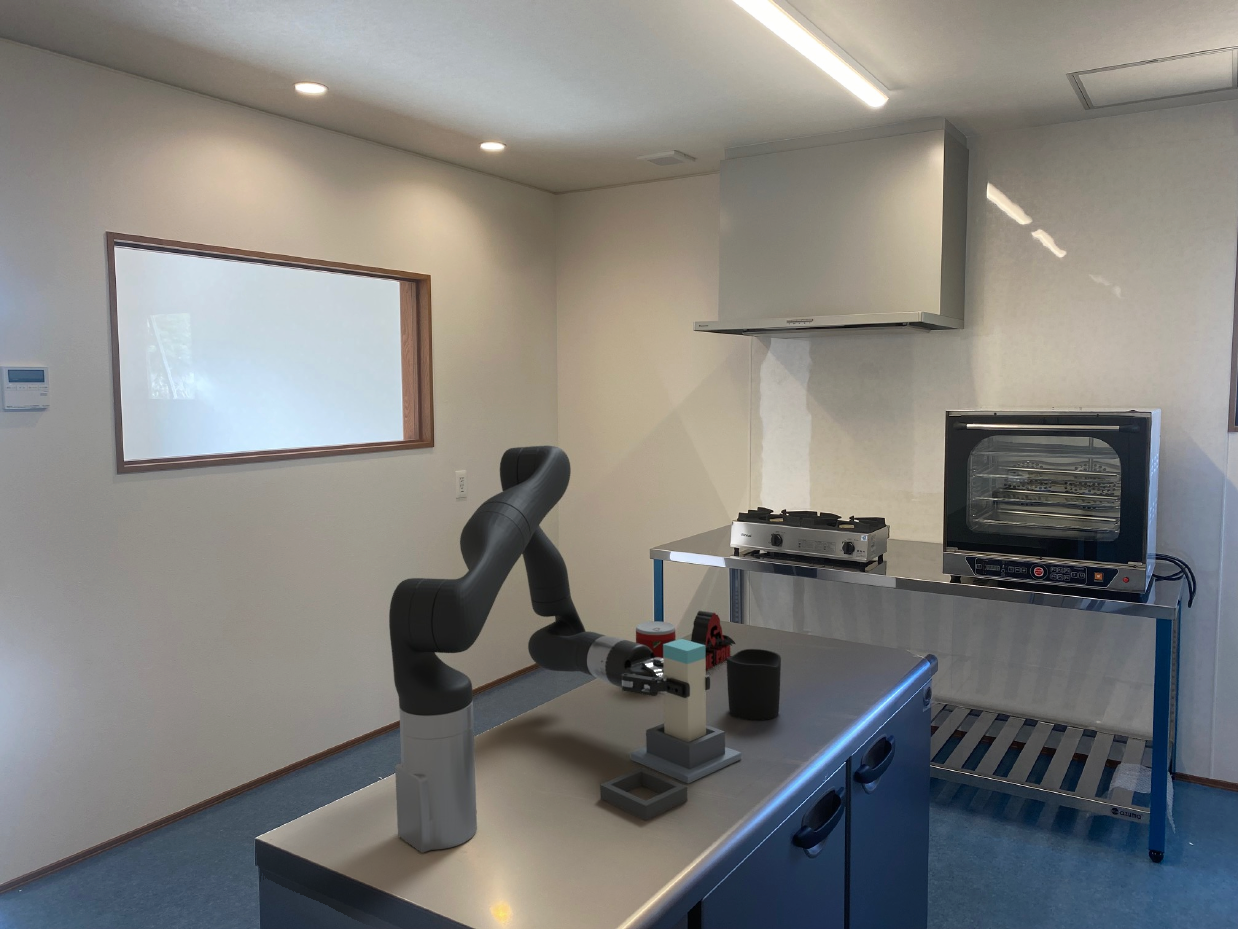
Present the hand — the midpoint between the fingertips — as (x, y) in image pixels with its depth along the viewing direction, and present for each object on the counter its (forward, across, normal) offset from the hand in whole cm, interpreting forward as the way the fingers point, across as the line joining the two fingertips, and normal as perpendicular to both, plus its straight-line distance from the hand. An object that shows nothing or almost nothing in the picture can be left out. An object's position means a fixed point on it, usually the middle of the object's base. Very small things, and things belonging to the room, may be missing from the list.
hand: (698, 687), depth 133 cm
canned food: (-32, +23, +13) cm, 41 cm away
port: (-3, 0, +12) cm, 12 cm away
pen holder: (-8, +23, +12) cm, 27 cm away
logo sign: (-32, +38, +13) cm, 51 cm away
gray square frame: (+2, -14, +12) cm, 19 cm away
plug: (-3, 0, +8) cm, 9 cm away
